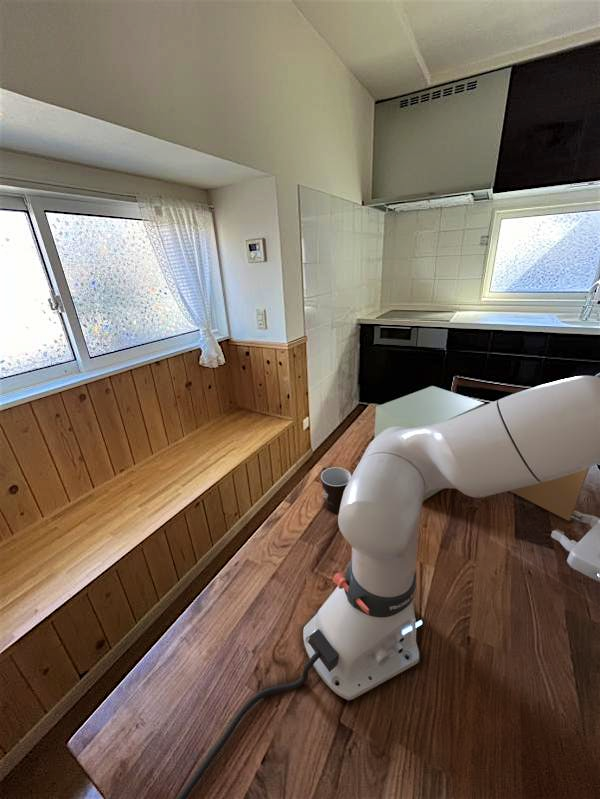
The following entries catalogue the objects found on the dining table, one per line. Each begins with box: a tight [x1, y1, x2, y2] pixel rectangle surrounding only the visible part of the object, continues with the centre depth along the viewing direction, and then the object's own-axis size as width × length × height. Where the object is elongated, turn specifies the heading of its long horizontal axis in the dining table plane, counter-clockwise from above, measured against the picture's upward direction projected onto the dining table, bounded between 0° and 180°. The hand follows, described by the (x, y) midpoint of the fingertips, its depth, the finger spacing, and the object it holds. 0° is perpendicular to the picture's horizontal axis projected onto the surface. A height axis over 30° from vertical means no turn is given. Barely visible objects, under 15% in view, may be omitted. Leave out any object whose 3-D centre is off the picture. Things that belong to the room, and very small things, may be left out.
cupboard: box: [373, 385, 485, 502], centre depth 104 cm, size 18×26×24 cm
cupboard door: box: [509, 467, 590, 522], centre depth 94 cm, size 7×26×24 cm, turn 33°
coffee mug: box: [320, 466, 353, 513], centre depth 97 cm, size 12×9×10 cm
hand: (562, 522), depth 77 cm, fingers open, 8 cm apart
